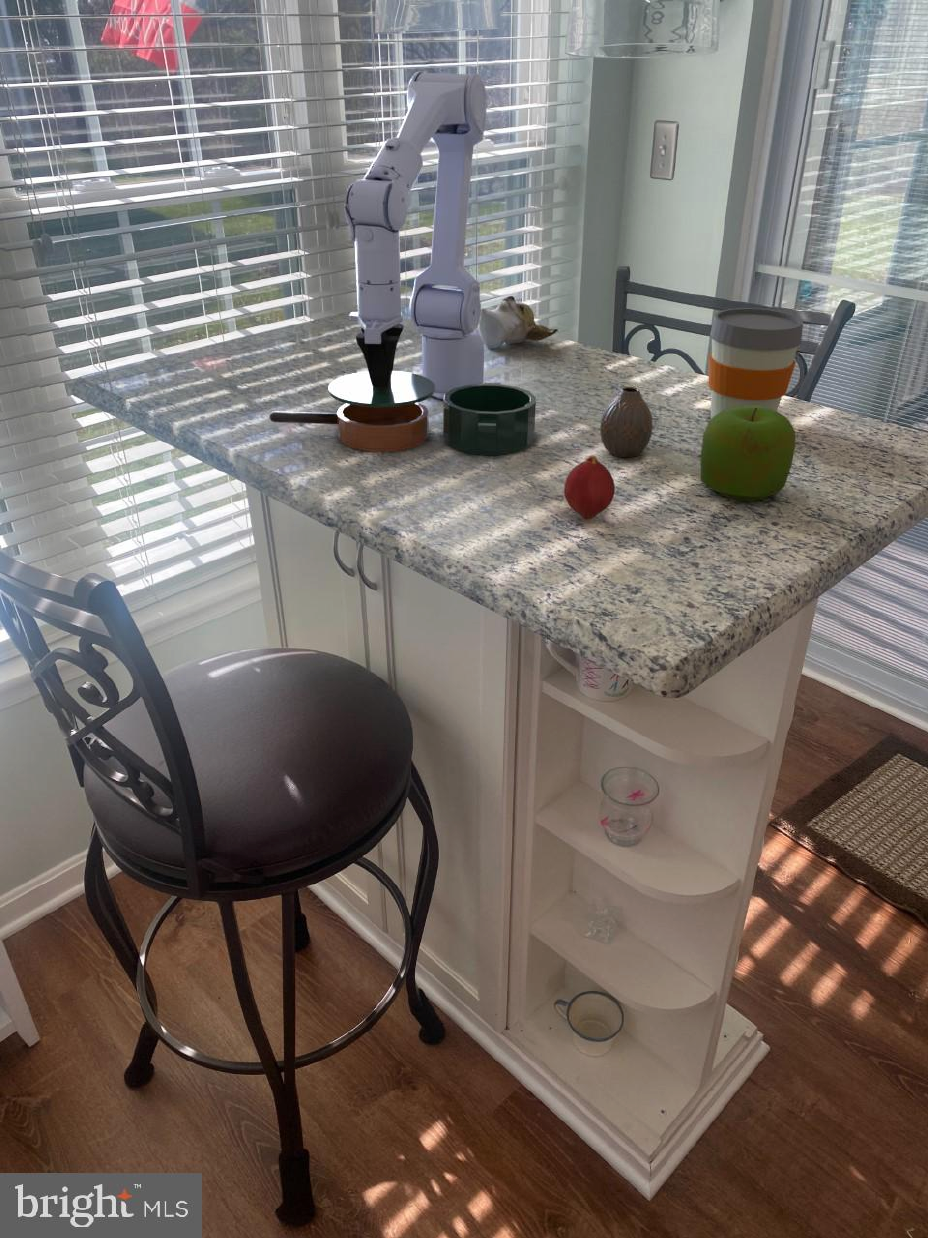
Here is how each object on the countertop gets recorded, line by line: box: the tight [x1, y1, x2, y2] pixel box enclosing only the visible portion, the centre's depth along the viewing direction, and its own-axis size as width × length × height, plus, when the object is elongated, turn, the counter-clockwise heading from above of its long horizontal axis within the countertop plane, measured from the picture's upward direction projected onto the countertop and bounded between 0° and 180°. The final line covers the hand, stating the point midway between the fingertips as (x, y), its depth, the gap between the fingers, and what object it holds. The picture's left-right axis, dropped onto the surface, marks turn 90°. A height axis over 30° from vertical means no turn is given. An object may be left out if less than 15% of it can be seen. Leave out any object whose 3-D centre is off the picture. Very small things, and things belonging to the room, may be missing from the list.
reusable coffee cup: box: [708, 307, 804, 420], centre depth 142 cm, size 13×13×15 cm
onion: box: [563, 454, 616, 520], centre depth 114 cm, size 6×6×8 cm
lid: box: [327, 370, 435, 407], centre depth 134 cm, size 15×15×5 cm
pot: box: [442, 382, 537, 456], centre depth 137 cm, size 13×18×6 cm
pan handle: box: [269, 410, 337, 425], centre depth 138 cm, size 10×2×2 cm, turn 86°
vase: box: [600, 386, 654, 458], centre depth 132 cm, size 7×7×9 cm
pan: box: [336, 402, 430, 453], centre depth 138 cm, size 13×13×4 cm
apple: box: [700, 406, 796, 503], centre depth 121 cm, size 11×11×11 cm
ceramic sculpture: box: [477, 295, 559, 349], centre depth 178 cm, size 11×9×15 cm
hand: (381, 382), depth 135 cm, fingers closed on lid, 2 cm apart
